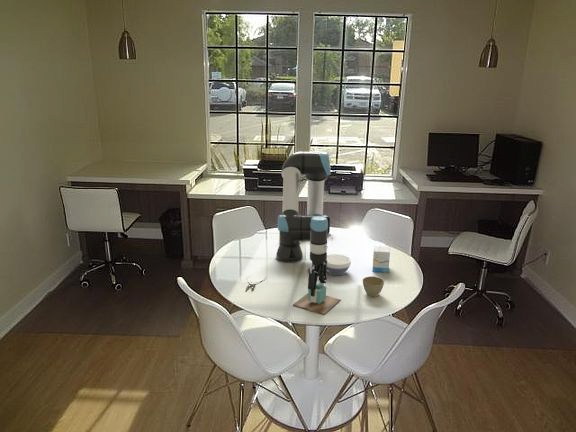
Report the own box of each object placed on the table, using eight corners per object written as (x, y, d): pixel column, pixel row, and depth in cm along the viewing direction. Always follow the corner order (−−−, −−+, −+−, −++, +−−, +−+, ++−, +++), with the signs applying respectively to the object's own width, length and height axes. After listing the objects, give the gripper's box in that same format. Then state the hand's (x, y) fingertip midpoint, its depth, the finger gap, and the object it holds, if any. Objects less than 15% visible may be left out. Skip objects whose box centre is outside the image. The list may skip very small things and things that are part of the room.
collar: (308, 300, 204) (308, 288, 202) (314, 295, 209) (314, 283, 207) (319, 303, 201) (320, 291, 199) (326, 298, 206) (326, 286, 204)
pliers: (266, 274, 235) (265, 290, 216) (266, 275, 235) (265, 292, 216) (247, 274, 235) (245, 291, 215) (247, 275, 235) (245, 292, 216)
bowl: (334, 264, 248) (335, 252, 246) (355, 272, 239) (356, 259, 236) (317, 272, 239) (317, 258, 237) (338, 280, 229) (338, 266, 227)
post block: (292, 305, 203) (293, 292, 201) (310, 292, 216) (310, 279, 214) (324, 315, 195) (324, 301, 193) (340, 300, 208) (341, 287, 206)
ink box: (388, 273, 238) (390, 252, 235) (372, 271, 240) (373, 251, 237) (388, 266, 246) (389, 246, 243) (372, 265, 248) (373, 245, 245)
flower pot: (359, 290, 218) (360, 276, 216) (379, 289, 219) (380, 276, 217) (364, 299, 209) (365, 285, 207) (385, 299, 210) (386, 284, 208)
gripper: (315, 260, 189) (314, 309, 195) (335, 246, 204) (333, 293, 211) (300, 256, 192) (299, 305, 199) (321, 243, 208) (319, 289, 214)
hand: (317, 298), depth 205 cm, fingers closed on collar, 6 cm apart
